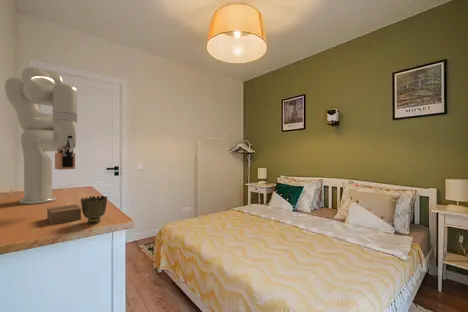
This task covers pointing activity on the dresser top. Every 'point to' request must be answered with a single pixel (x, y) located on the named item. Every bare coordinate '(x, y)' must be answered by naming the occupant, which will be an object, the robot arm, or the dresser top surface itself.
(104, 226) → the dresser top surface
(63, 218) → the walnut block
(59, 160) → the terracotta block
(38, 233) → the dresser top surface
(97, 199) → the cup
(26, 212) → the dresser top surface
